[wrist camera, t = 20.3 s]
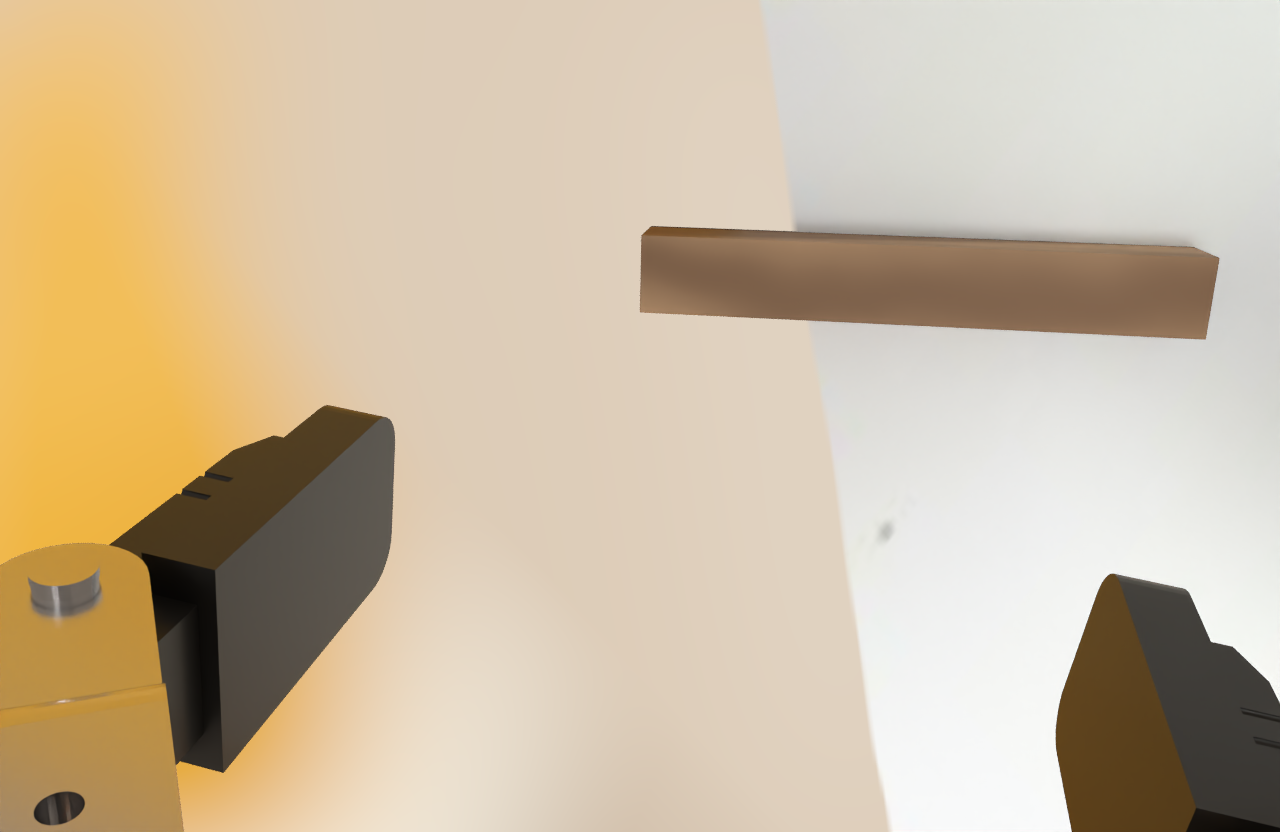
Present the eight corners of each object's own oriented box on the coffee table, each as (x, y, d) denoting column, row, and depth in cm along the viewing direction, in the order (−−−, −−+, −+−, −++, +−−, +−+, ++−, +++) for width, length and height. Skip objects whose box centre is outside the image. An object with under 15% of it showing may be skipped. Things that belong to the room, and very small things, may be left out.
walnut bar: (651, 226, 46) (641, 235, 43) (1191, 246, 43) (1219, 257, 40) (649, 298, 46) (640, 312, 44) (1179, 322, 44) (1205, 339, 41)
